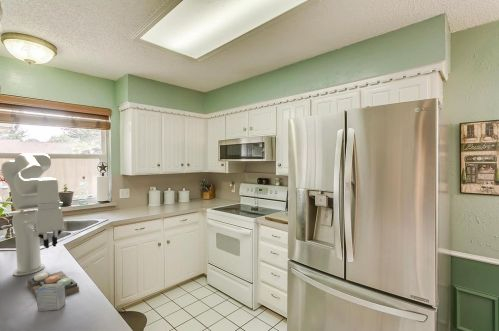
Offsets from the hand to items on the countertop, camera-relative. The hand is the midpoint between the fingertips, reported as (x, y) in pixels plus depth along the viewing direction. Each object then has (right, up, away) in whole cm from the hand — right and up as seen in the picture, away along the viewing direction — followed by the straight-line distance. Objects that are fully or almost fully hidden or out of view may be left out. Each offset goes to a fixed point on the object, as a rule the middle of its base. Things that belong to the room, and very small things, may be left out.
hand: (50, 246), depth 114 cm
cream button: (-7, -16, +4) cm, 18 cm away
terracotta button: (0, -16, 0) cm, 16 cm away
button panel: (+1, -19, +1) cm, 19 cm away
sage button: (+8, -16, -3) cm, 18 cm away
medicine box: (+12, -19, -15) cm, 28 cm away
